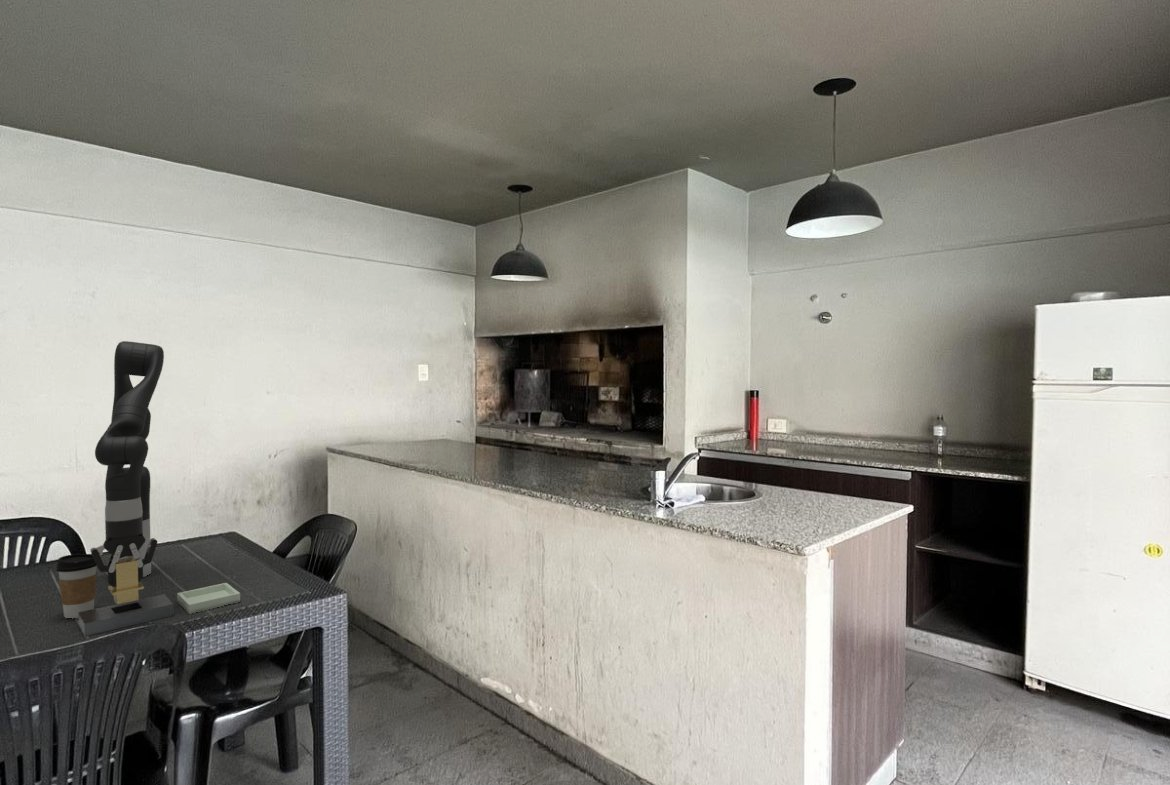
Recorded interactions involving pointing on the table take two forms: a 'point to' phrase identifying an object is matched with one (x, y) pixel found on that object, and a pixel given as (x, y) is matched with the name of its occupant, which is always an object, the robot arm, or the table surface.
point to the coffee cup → (77, 583)
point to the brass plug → (126, 581)
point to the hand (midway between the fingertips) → (125, 583)
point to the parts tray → (208, 598)
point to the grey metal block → (125, 614)
